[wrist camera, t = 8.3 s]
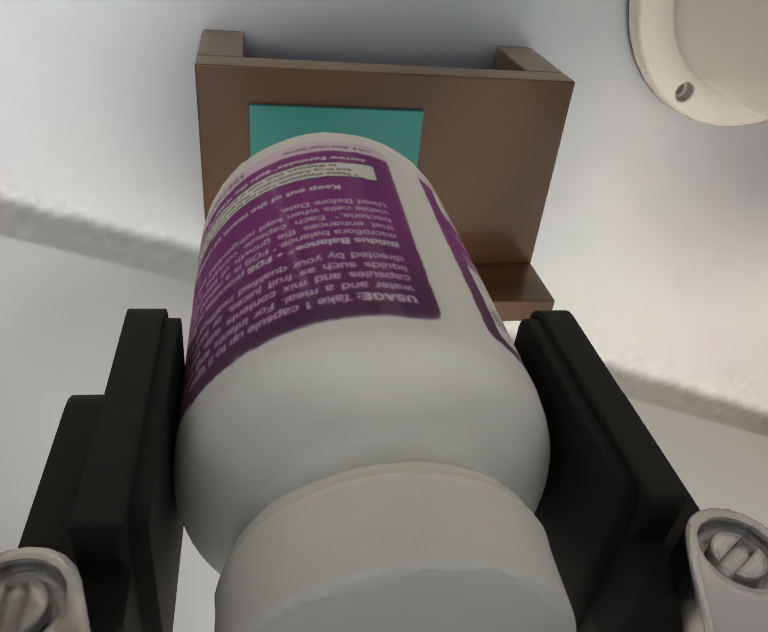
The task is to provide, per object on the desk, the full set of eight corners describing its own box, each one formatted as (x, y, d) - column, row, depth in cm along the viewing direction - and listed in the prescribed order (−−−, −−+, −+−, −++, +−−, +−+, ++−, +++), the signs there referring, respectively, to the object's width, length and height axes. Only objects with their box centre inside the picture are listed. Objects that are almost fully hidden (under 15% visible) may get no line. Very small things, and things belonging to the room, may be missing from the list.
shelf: (531, 47, 30) (609, 107, 23) (494, 230, 35) (549, 320, 28) (202, 29, 27) (188, 90, 21) (214, 229, 32) (205, 328, 26)
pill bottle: (171, 301, 15) (78, 786, 8) (252, 82, 13) (238, 469, 5) (384, 362, 17) (483, 797, 9) (490, 183, 15) (744, 574, 7)
